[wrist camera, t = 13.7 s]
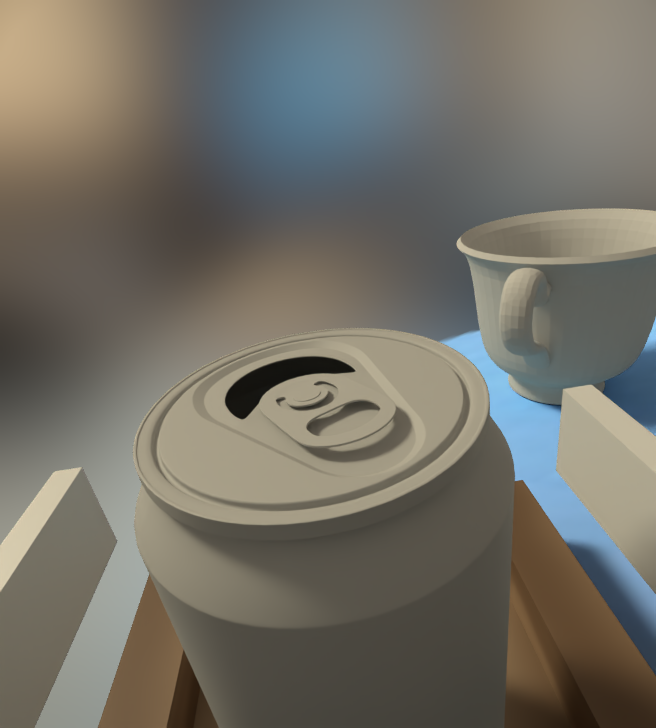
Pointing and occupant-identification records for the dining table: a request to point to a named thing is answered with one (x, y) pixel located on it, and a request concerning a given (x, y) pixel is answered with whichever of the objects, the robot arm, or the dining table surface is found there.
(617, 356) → the teacup
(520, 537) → the tray
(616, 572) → the dining table surface
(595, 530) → the dining table surface
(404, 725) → the beverage can
